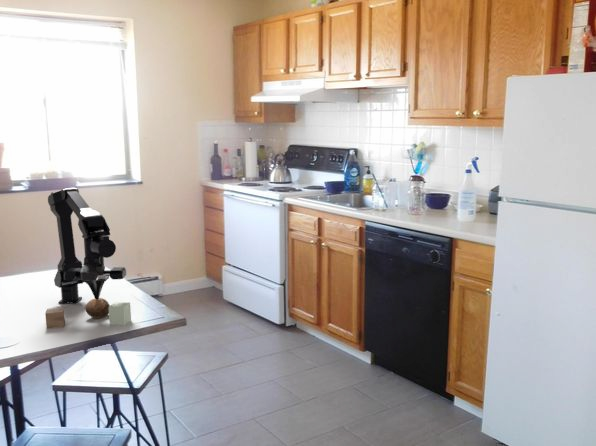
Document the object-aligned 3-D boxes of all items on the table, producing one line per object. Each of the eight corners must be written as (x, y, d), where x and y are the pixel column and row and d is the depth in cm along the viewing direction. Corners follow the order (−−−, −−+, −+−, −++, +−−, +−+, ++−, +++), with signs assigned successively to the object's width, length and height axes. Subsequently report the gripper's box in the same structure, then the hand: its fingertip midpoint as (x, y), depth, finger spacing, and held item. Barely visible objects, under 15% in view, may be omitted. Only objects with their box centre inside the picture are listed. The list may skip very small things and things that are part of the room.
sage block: (116, 319, 190) (115, 302, 189) (131, 320, 189) (130, 302, 188) (109, 325, 185) (108, 306, 184) (124, 325, 184) (123, 307, 183)
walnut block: (48, 323, 187) (46, 308, 186) (64, 322, 188) (63, 307, 187) (46, 328, 182) (45, 313, 181) (63, 327, 184) (62, 311, 183)
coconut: (84, 303, 197) (90, 291, 194) (107, 309, 200) (113, 297, 197) (80, 321, 190) (86, 308, 187) (104, 327, 193) (110, 315, 190)
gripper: (56, 258, 182) (59, 307, 184) (116, 257, 183) (119, 305, 185) (68, 251, 193) (71, 296, 195) (125, 250, 194) (128, 295, 196)
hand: (97, 299), depth 193 cm, fingers closed
